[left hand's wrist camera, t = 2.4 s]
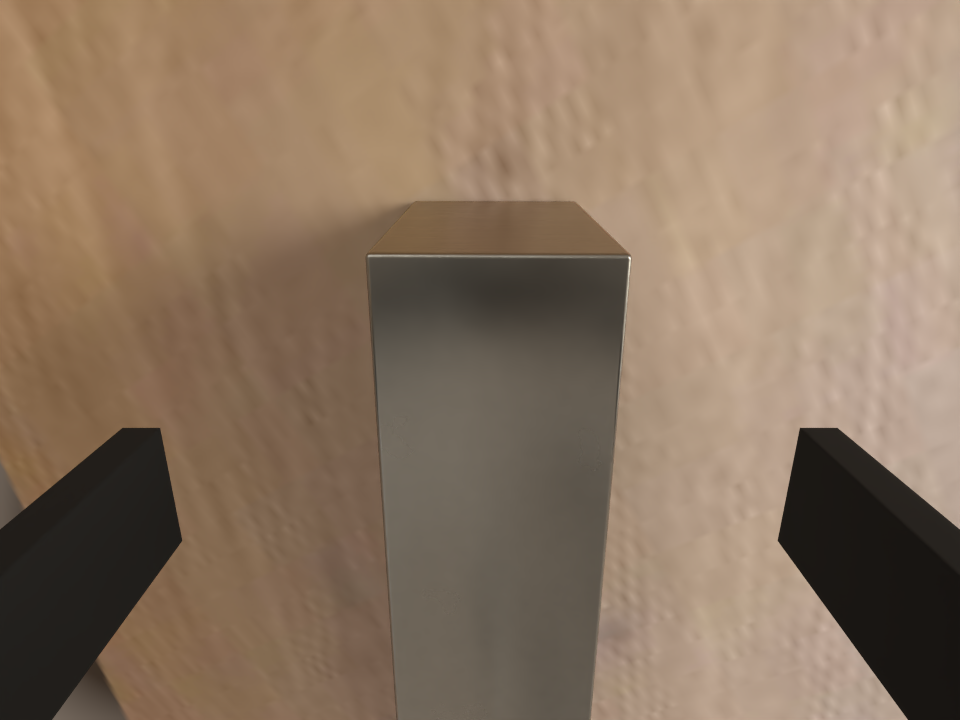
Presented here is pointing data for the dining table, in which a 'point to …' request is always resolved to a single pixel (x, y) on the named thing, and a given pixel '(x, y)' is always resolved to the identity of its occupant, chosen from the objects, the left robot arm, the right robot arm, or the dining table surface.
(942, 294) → the dining table surface
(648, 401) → the dining table surface
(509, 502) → the bar
